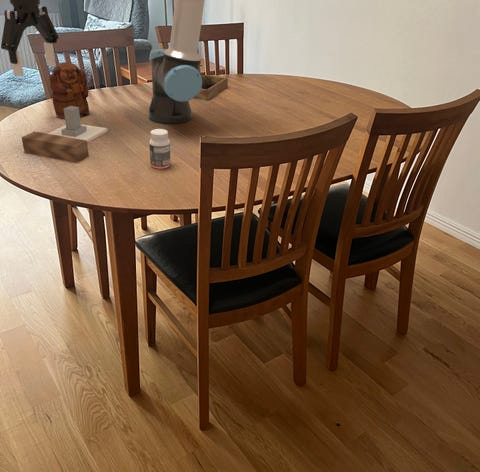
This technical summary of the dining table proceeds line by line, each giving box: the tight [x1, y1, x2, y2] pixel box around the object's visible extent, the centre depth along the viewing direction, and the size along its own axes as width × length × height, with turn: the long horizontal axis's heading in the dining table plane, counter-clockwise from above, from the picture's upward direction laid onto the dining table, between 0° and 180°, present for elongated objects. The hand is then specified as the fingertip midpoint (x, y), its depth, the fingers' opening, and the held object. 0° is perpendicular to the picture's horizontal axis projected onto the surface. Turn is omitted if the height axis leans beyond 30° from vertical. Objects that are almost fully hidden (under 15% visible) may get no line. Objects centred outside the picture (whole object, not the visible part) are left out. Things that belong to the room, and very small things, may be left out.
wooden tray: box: [193, 74, 229, 102], centre depth 210 cm, size 15×22×4 cm
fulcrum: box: [47, 106, 109, 144], centre depth 159 cm, size 14×16×9 cm
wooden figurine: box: [49, 61, 90, 120], centre depth 173 cm, size 12×6×18 cm, turn 134°
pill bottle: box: [148, 128, 172, 170], centre depth 141 cm, size 6×6×10 cm
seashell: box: [200, 73, 215, 89], centre depth 210 cm, size 16×9×7 cm, turn 136°
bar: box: [21, 131, 90, 164], centre depth 146 cm, size 18×6×5 cm, turn 71°
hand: (35, 70), depth 145 cm, fingers open, 13 cm apart
